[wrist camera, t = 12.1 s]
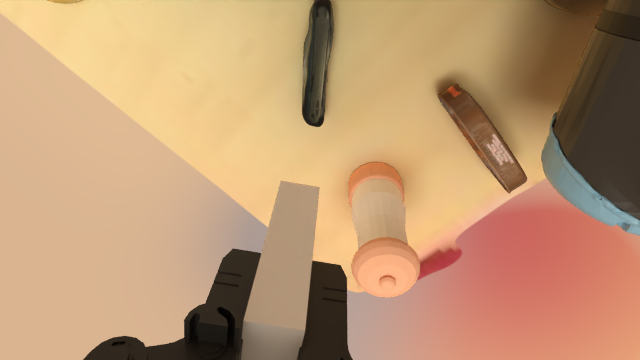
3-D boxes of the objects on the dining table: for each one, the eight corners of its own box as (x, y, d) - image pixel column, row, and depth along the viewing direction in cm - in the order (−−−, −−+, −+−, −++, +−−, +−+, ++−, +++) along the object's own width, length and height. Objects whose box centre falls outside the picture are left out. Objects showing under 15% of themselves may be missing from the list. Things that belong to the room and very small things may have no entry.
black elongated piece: (325, 129, 46) (336, -12, 38) (300, 127, 46) (305, -14, 38) (327, 113, 50) (336, -18, 42) (303, 111, 50) (308, -20, 42)
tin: (430, 87, 47) (445, 112, 40) (453, 70, 46) (473, 93, 39) (490, 172, 53) (513, 208, 46) (512, 159, 52) (539, 194, 45)
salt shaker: (395, 156, 52) (419, 252, 36) (405, 200, 56) (431, 306, 39) (342, 168, 54) (342, 266, 37) (355, 211, 57) (360, 317, 41)
